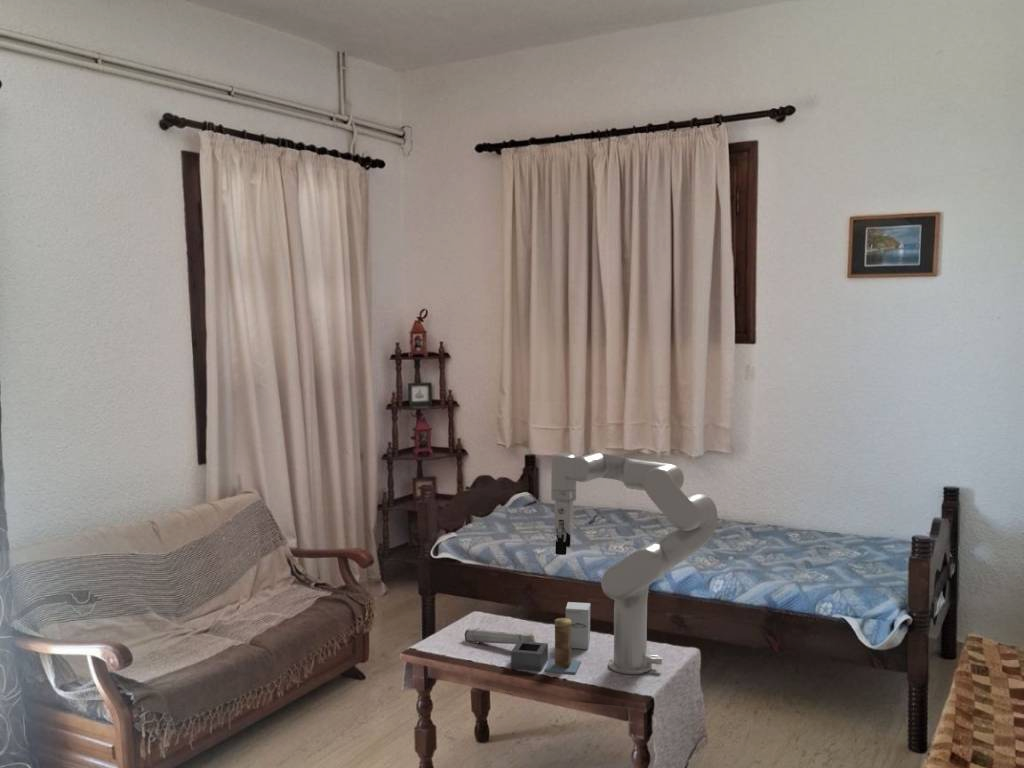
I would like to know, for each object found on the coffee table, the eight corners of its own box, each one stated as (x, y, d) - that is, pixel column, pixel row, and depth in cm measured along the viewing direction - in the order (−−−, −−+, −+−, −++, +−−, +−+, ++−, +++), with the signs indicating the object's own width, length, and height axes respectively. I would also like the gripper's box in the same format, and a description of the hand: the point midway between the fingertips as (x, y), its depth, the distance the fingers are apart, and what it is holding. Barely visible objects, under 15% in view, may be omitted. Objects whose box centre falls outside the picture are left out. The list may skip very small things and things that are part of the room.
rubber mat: (580, 662, 258) (580, 660, 258) (575, 674, 250) (575, 672, 250) (551, 660, 261) (551, 658, 261) (544, 671, 252) (544, 669, 252)
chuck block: (547, 659, 261) (547, 643, 261) (541, 671, 252) (541, 654, 252) (518, 657, 263) (518, 640, 263) (511, 668, 254) (511, 651, 254)
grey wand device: (471, 626, 280) (539, 628, 267) (474, 647, 280) (542, 650, 267) (462, 631, 276) (531, 633, 263) (465, 652, 276) (533, 655, 263)
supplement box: (564, 648, 270) (564, 608, 270) (567, 640, 278) (567, 601, 277) (588, 650, 269) (588, 609, 268) (590, 641, 276) (590, 602, 276)
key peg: (572, 662, 257) (572, 618, 256) (569, 668, 252) (569, 624, 251) (556, 661, 258) (556, 617, 257) (553, 667, 253) (553, 622, 253)
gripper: (572, 500, 255) (571, 558, 256) (579, 490, 272) (578, 544, 273) (547, 499, 256) (546, 557, 257) (555, 489, 273) (554, 542, 274)
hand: (563, 550), depth 265 cm, fingers open, 9 cm apart
